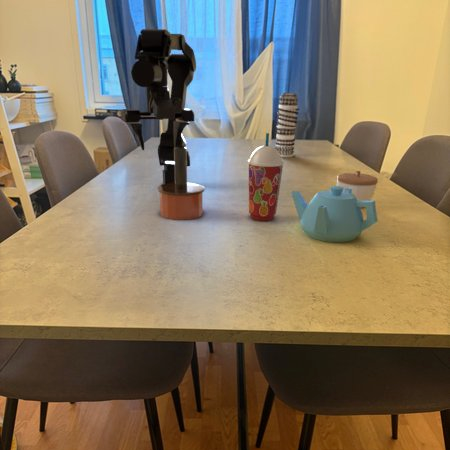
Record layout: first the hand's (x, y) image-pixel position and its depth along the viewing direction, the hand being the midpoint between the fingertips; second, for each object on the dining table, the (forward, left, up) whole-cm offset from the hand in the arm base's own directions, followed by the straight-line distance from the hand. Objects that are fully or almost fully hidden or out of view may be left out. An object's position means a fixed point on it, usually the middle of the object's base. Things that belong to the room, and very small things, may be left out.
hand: (159, 149), depth 119 cm
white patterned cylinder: (-71, -51, -13) cm, 88 cm away
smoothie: (-18, +28, -13) cm, 36 cm away
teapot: (-27, +44, -13) cm, 53 cm away
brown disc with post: (0, +18, -7) cm, 19 cm away
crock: (0, +18, -13) cm, 22 cm away
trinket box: (-48, +26, -13) cm, 56 cm away
